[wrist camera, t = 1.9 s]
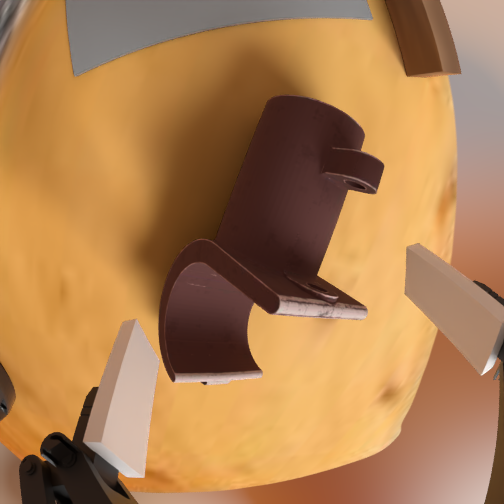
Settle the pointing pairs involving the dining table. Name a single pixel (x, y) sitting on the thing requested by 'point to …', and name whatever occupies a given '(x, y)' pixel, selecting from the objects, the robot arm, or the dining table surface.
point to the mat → (177, 21)
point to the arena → (424, 38)
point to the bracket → (266, 242)
